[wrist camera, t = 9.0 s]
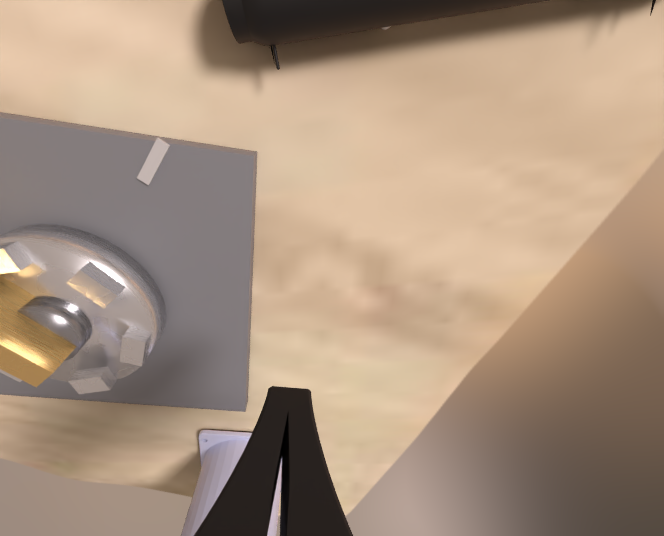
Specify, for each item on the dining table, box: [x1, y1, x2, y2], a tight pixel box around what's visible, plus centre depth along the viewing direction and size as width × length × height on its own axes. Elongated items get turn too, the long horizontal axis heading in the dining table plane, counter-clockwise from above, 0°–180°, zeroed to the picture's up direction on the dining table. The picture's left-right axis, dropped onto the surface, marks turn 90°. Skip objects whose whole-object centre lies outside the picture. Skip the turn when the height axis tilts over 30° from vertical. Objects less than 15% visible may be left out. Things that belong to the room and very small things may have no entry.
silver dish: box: [0, 224, 166, 394], centre depth 17 cm, size 14×10×5 cm
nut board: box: [0, 112, 257, 412], centre depth 20 cm, size 20×20×1 cm
